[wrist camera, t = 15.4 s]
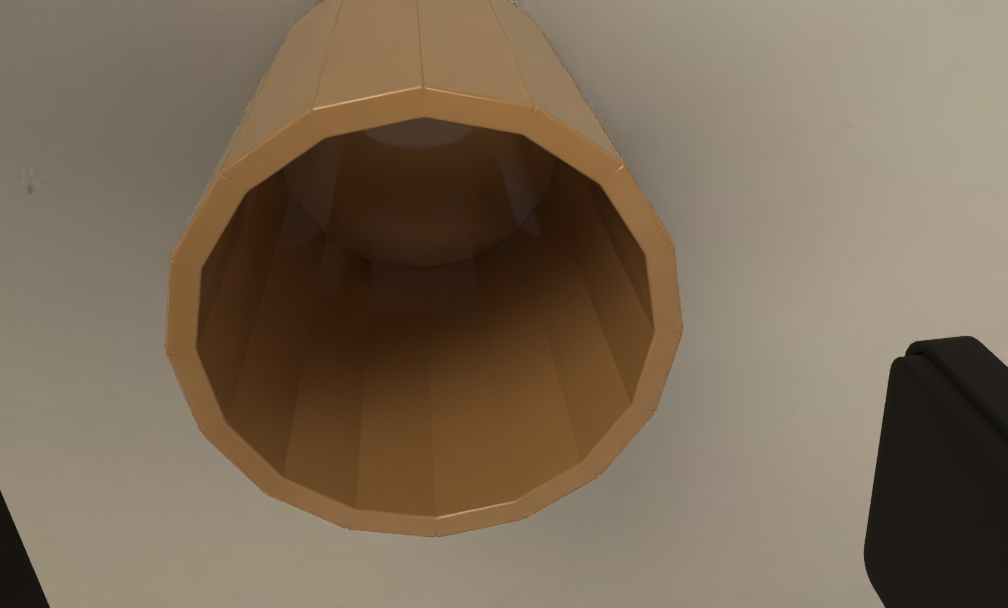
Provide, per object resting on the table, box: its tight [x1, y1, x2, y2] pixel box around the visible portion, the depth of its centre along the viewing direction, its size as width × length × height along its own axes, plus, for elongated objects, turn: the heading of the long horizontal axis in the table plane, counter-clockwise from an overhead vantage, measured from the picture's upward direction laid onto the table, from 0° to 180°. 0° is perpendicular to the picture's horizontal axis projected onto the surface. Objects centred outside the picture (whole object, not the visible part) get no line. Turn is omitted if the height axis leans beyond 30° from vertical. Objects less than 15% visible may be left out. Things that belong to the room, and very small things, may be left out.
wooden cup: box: [165, 0, 683, 537], centre depth 16 cm, size 7×7×9 cm
